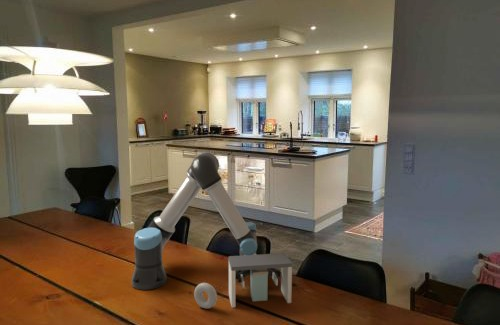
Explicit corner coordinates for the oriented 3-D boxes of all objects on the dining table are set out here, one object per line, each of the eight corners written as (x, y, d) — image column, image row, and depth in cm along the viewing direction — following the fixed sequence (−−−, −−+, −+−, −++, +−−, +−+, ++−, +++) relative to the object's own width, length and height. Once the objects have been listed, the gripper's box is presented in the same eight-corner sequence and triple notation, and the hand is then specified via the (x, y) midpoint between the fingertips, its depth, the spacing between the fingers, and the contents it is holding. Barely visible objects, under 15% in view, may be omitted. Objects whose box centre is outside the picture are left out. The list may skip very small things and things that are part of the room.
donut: (218, 308, 139) (218, 284, 138) (214, 313, 136) (213, 288, 135) (197, 302, 144) (197, 278, 143) (192, 306, 141) (192, 282, 140)
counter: (231, 307, 140) (231, 267, 138) (228, 294, 151) (228, 256, 149) (291, 302, 144) (292, 263, 142) (284, 289, 155) (284, 253, 153)
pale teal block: (252, 301, 145) (252, 272, 143) (249, 294, 151) (249, 266, 150) (267, 300, 146) (268, 271, 144) (264, 292, 152) (265, 265, 151)
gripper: (277, 268, 168) (290, 290, 147) (224, 272, 164) (229, 294, 143) (278, 253, 167) (290, 272, 146) (224, 256, 163) (229, 276, 142)
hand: (260, 283), depth 144 cm, fingers open, 13 cm apart
